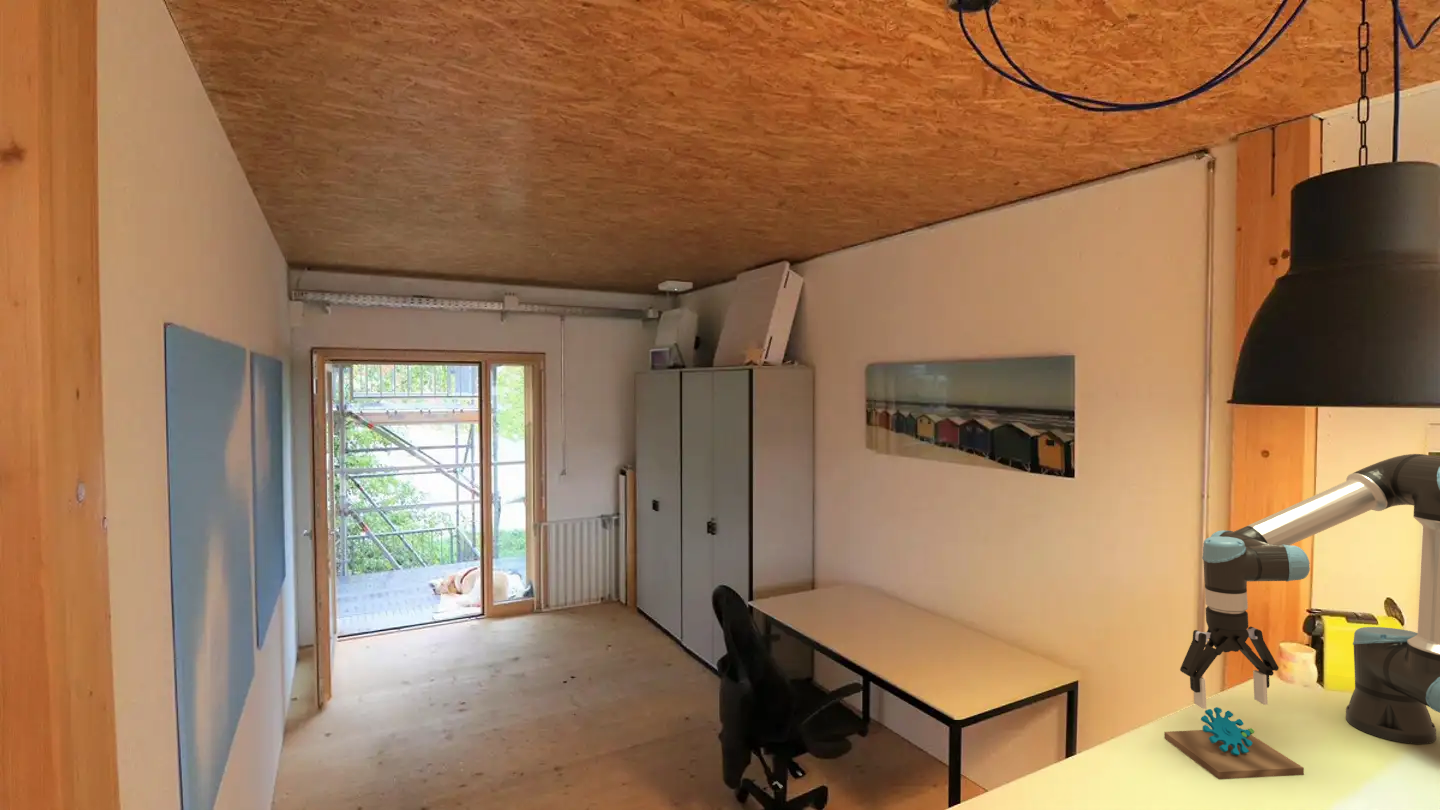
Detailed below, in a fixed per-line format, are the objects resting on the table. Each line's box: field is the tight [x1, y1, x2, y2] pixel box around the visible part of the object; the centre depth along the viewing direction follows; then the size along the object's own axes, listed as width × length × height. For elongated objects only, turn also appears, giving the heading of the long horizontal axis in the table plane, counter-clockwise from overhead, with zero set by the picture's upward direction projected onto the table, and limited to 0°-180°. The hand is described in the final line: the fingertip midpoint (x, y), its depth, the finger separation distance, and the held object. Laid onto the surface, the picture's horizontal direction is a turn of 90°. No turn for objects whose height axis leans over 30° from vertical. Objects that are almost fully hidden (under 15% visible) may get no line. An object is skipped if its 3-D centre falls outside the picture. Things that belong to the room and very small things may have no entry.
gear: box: [1200, 706, 1255, 756], centre depth 153 cm, size 11×6×10 cm
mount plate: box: [1164, 729, 1305, 780], centre depth 151 cm, size 18×17×2 cm
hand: (1230, 704), depth 151 cm, fingers open, 13 cm apart
